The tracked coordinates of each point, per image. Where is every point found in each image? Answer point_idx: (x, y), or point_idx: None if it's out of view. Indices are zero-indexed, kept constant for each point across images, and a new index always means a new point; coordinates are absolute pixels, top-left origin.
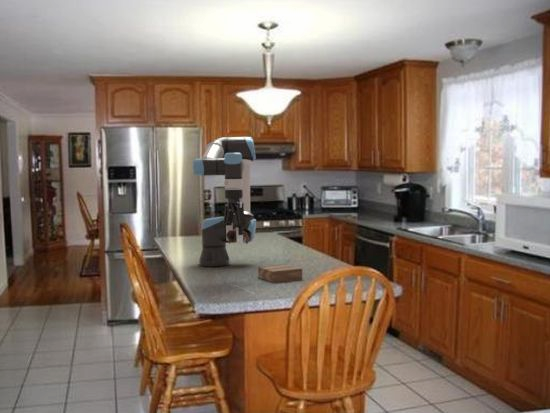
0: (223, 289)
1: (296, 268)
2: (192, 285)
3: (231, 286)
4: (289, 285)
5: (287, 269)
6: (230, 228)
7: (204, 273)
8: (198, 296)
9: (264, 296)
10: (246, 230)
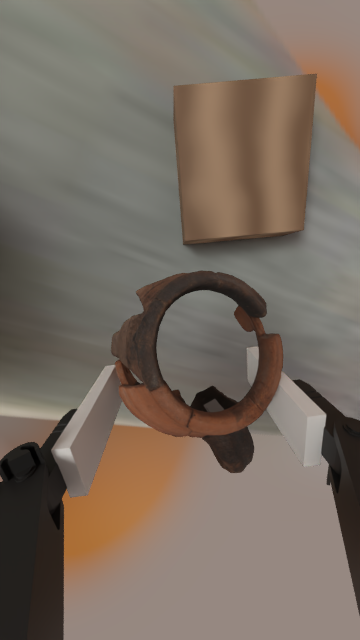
0: None
1: (296, 98)
2: None
3: None
4: (347, 206)
5: (295, 152)
6: (89, 439)
7: (53, 364)
8: None
9: None
10: (165, 309)
